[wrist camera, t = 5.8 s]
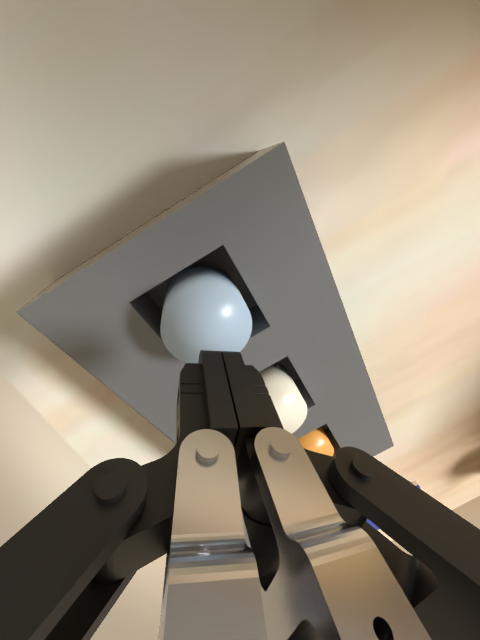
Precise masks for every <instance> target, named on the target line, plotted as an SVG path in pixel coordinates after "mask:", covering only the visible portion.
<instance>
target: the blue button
mask: <svg viewBox="0 0 480 640" xmlns="http://www.w3.org/2000/svg"><path fill="white" fill-rule="evenodd" d="M251 331H252V318H251V314H250V311H249V309H248V307H247V305H246V303H245V301H244V299H243V297H242V295H241V293H240V291H239V289H238V288H237V286H236V284H235V282H234V281H233V279H232V278H231V277H230V276H229V275H228V274H226V273H225V272H223V271H222V270H220V269H217V268H214V267H210V266H195V267H191V268H188V269H186V270H184V271H182V272H180V273H179V274H177V275H176V276H175V277H174V278H173V279H172V280H171V282H170V283H169V285H168V287H167V289H166V292H165V297H164V304H163V311H162V318H161V326H160V332H161V337H162V340H163V343H164V345H165V347H166V348H167V349H168V351H169V352H170V353H171V354H172V355H173V356H174V357H176V358H177V359H179V360H181V361H182V362H185V363H198V360H199V354H200V350H211V351H233V352H240V351H241V350H242V349H243V348H244V347H245V345H246V344H247V342H248V340H249V338H250V335H251Z"/></svg>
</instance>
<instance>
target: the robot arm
mask: <svg viewBox="0 0 480 640" xmlns="http://www.w3.org/2000/svg"><path fill="white" fill-rule="evenodd" d="M367 519H369V520H370V521H371V522H372V523H374V524H375V525H376V526H377V527H378V528H380V529H381V530H382V531H383V532H385V533H386V534H387V535H388V536H390V537H391V538H392V539H393V540H395V541H396V542H397V543H398V544H399V545H401V546H402V547H403V548H405V549H406V550H407V551H408V552H409V553H411V554H412V555H413V556H411V555H408V554H406V553H405V552H403V551H402V550H400V549H399V548H398V547H397V546H396V545H394V544H393V543H392V542H391V541H390V540H388V539H387V538H386V537H385V536H383V535H382V534H381V533H380V532H379V531H377V530H376V529H375V528H374V527H372V526H371V525H370V524H369V523H368V522H366V521H367ZM166 553H167V557H166V567H165V578H164V587H163V598H162V607H161V617H160V626H159V635H158V640H480V530H479V529H478V528H477V527H475V526H474V525H472V524H471V523H469V522H468V521H466V520H465V519H463V518H462V517H460V516H459V515H458V514H456V513H454V512H453V511H452V510H450V509H449V508H447V507H446V506H444V505H443V504H441V503H440V502H438V501H437V500H436V499H434V498H433V497H431V496H430V495H428V494H427V493H425V492H424V491H422V490H421V489H419V488H418V487H416V486H415V485H413V484H412V483H411V482H409V481H408V480H406V479H405V478H403V477H402V476H400V475H399V474H397V473H396V472H394V471H393V470H391V469H390V468H388V467H387V466H386V465H384V464H383V463H381V462H380V461H378V460H377V459H375V458H374V457H372V456H371V455H369V454H368V453H366V452H365V451H363V450H361V449H358V448H355V447H348V446H347V447H342V448H340V449H339V450H338V451H337V452H336V454H335V456H334V457H333V456H329V455H325V454H321V453H317V452H313V451H310V450H307V449H305V448H303V446H302V444H301V443H300V441H299V440H298V439H297V438H296V437H295V436H294V435H293V434H291V433H290V432H288V431H287V430H284V428H283V426H282V423H281V421H280V418H279V416H278V413H277V411H276V409H275V406H274V404H273V401H272V399H271V396H270V395H269V392H268V389H267V387H266V386H265V382H264V380H263V377H262V375H261V373H260V372H259V371H258V370H257V369H256V368H255V367H254V366H253V365H245V364H244V361H243V358H242V355H241V353H240V352H233V351H211V350H200V354H199V360H198V363H186V364H185V365H184V367H183V369H182V370H181V372H180V378H179V387H178V395H177V406H176V445H175V447H174V448H173V449H172V450H171V451H170V452H169V453H168V454H167V455H165V456H164V457H162V458H160V459H158V460H156V461H153V462H150V463H148V464H145V465H142V466H140V465H139V464H138V463H136V462H135V461H133V460H130V459H125V458H115V459H110V460H106V461H104V462H101V463H99V464H98V465H96V466H94V467H93V468H91V469H90V470H89V471H87V472H86V473H85V474H84V475H83V476H82V477H81V478H79V479H78V480H77V481H76V482H75V483H74V484H72V485H71V486H70V487H69V488H68V489H67V490H66V491H65V492H63V493H62V494H61V495H60V496H59V497H58V498H56V499H55V500H54V501H53V502H52V503H51V504H49V505H48V506H47V507H46V508H45V509H44V510H43V511H41V512H40V513H39V514H38V515H37V516H36V517H34V518H33V519H32V520H31V521H30V522H29V523H28V524H26V525H25V526H24V527H23V528H22V529H21V530H20V531H18V532H17V533H16V534H15V535H14V536H13V537H11V538H10V539H9V540H8V541H7V542H6V543H5V544H3V545H2V546H1V547H0V640H90V639H91V637H92V636H93V634H94V632H95V631H96V630H97V628H98V627H99V625H100V624H101V623H102V621H103V620H104V618H105V617H106V615H107V614H108V612H109V611H110V609H111V608H112V607H113V605H114V604H115V602H116V601H117V599H118V598H119V596H120V595H121V593H122V592H123V590H124V589H125V587H126V586H127V585H128V583H129V582H130V580H131V579H132V577H133V576H134V574H135V573H136V571H137V570H138V569H140V568H142V567H143V566H145V565H147V564H148V563H150V562H152V561H154V560H156V559H157V558H159V557H161V556H163V555H164V554H166Z"/></svg>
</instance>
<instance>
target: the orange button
mask: <svg viewBox="0 0 480 640" xmlns="http://www.w3.org/2000/svg"><path fill="white" fill-rule="evenodd" d="M298 440H299V441H300V443H301V444H302V446H303V448H305V449H307V450H310V451H313V452H317V453H321V454H325V455H329V456H333V454H334V448H333V446H332V444H331V443H330V441H329V439H328V437H327V436H326V434H325V432H324V430H323V428H322V427H319V428H317V429H315V430H313V431H311V432H310V433H308V434H306V435H304V436H302V437H300V438H298Z"/></svg>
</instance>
